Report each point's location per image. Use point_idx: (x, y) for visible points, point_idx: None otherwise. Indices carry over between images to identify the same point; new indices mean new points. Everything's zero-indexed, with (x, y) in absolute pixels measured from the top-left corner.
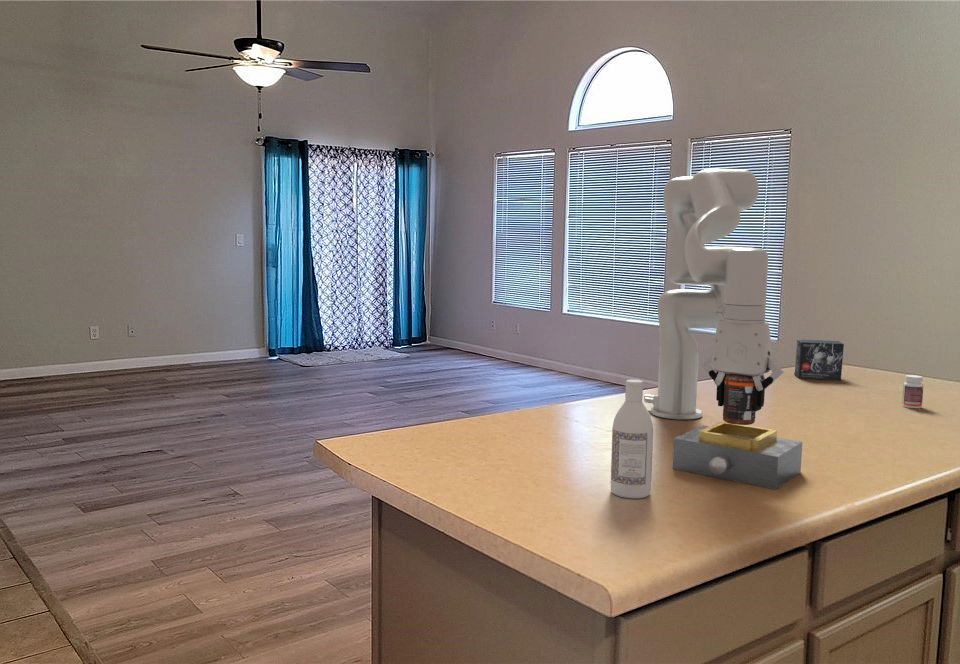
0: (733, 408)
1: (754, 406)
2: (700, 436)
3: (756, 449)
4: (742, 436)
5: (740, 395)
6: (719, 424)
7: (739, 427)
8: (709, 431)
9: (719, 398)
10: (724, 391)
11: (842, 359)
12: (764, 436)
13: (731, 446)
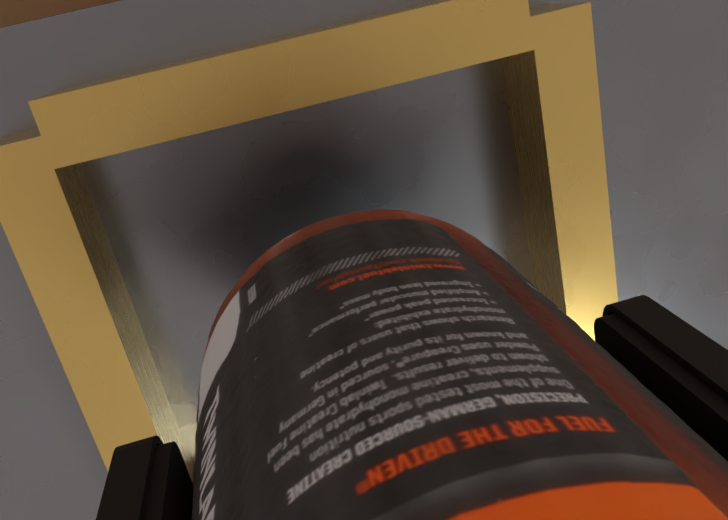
0: (369, 270)
1: (124, 473)
2: (550, 5)
3: (12, 132)
4: None
5: (309, 427)
6: None
7: None
8: (537, 124)
9: (683, 336)
10: (690, 429)
11: None
12: (73, 351)
13: (230, 47)
